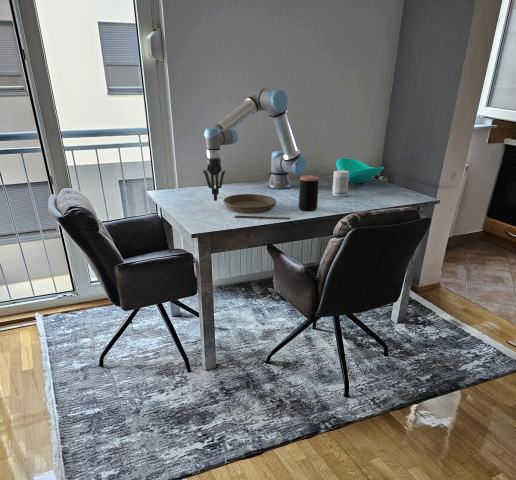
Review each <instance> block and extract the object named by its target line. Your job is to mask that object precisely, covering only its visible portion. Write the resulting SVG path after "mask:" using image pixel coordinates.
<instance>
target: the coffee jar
mask: <svg viewBox="0 0 516 480" xmlns="http://www.w3.org/2000/svg"><path fill="white" fill-rule="evenodd" d="M299 180H300V181H299V191H298V192H299V193H298V195H299V196H298V209H299V210H300V211H302V212H309V213H310V212H315V211H316V210H317V209H318V200H319V199H318V198H319V187H320V186H319V185H320V182H319V180H320V177H319V176H317V175H311V174H310V175H309V174H308V175H301V176H300V177H299Z"/></svg>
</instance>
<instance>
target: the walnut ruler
mask: <svg viewBox="0 0 516 480" xmlns="http://www.w3.org/2000/svg"><path fill="white" fill-rule="evenodd" d="M234 218H236V219H266V220H290V217H289V216H288V217H287V216H259V215H258V216H257V215H235V216H234Z"/></svg>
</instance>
